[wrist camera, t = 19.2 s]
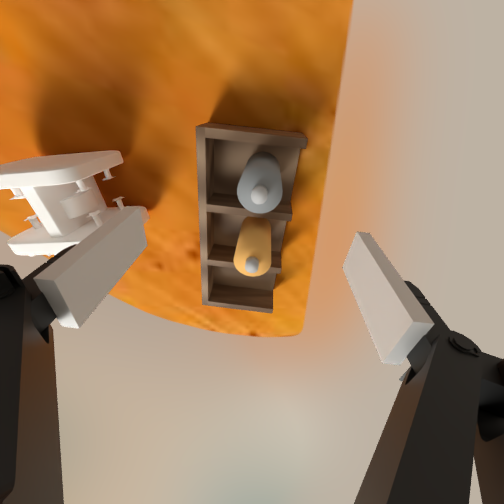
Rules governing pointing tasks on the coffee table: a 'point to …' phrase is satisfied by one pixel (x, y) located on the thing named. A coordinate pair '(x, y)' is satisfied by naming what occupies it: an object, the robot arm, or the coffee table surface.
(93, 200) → the cable organizer
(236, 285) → the brown compartment tray
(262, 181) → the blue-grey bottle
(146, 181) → the coffee table surface
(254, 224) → the yellow knobbed cylinder
